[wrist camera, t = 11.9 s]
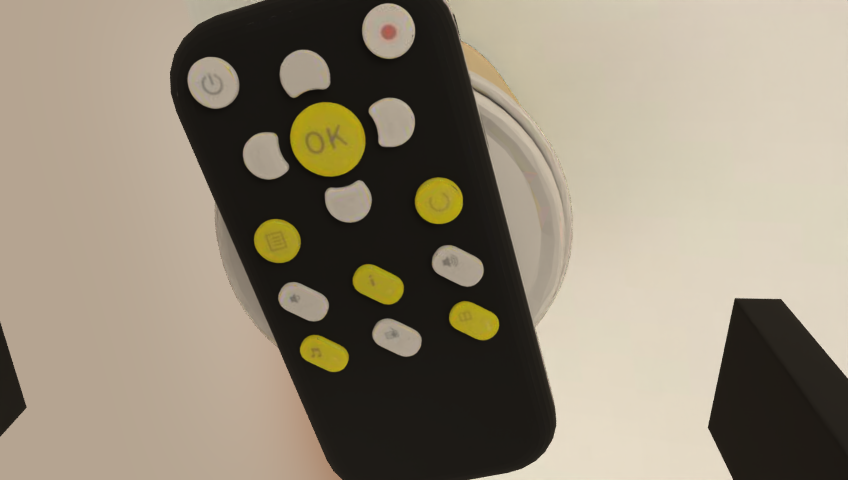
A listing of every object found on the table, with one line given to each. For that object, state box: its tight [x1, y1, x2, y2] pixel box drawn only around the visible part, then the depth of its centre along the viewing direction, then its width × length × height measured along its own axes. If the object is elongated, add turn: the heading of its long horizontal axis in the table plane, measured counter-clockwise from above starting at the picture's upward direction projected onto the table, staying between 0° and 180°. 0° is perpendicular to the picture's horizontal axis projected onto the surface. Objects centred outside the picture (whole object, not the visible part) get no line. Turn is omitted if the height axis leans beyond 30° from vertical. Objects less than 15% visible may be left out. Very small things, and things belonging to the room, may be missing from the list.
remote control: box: [170, 0, 556, 480], centre depth 16 cm, size 6×13×2 cm, turn 16°
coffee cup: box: [215, 41, 572, 347], centre depth 23 cm, size 9×9×12 cm
